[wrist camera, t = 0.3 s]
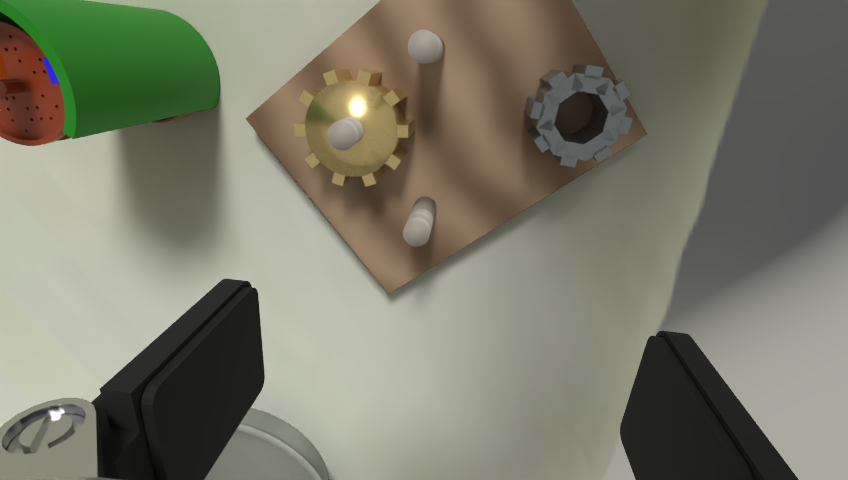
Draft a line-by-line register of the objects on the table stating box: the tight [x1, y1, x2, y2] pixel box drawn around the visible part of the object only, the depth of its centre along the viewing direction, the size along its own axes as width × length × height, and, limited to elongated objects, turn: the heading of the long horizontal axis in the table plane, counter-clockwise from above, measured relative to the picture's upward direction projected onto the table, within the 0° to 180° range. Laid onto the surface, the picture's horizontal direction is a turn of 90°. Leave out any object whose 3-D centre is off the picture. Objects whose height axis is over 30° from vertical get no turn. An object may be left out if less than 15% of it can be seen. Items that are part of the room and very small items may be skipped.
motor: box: [0, 0, 220, 146], centre depth 30 cm, size 10×9×20 cm
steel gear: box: [524, 64, 633, 167], centre depth 33 cm, size 7×7×4 cm
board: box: [246, 0, 647, 294], centre depth 35 cm, size 26×20×8 cm
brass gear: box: [294, 69, 415, 187], centre depth 36 cm, size 9×9×4 cm
